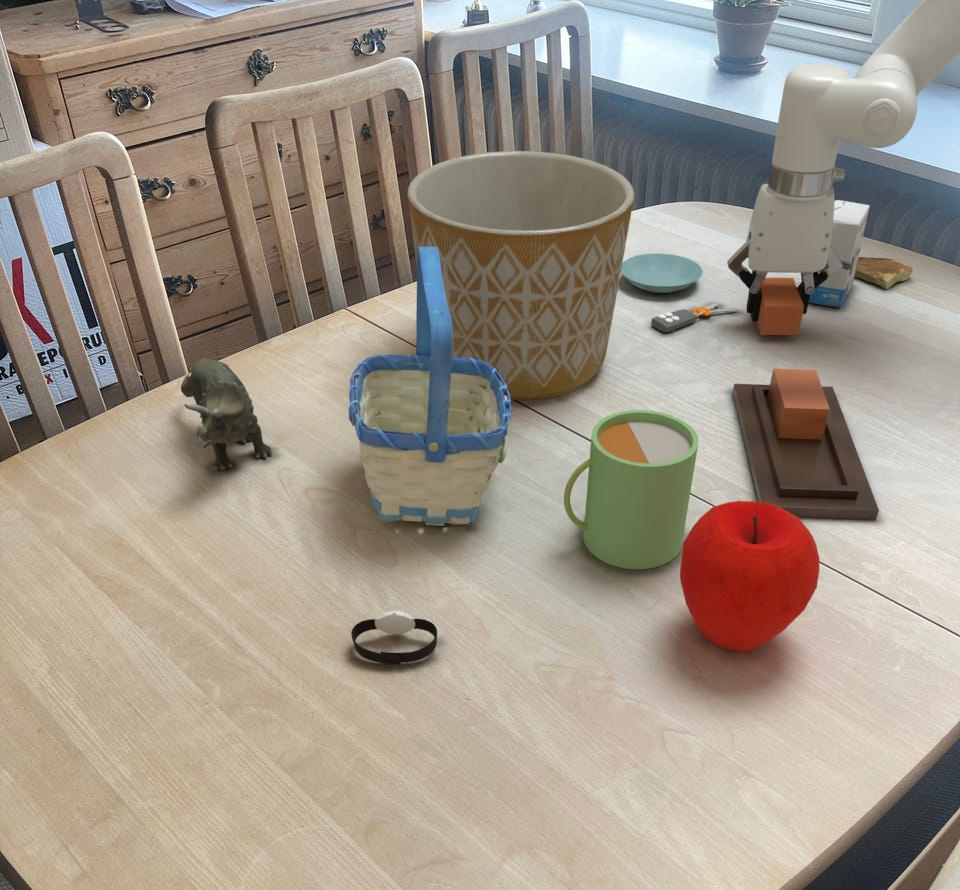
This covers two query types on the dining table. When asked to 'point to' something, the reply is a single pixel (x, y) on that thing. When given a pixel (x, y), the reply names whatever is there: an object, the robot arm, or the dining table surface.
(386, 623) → the watch
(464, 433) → the basket
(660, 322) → the key chain
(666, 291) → the saucer
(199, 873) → the dining table surface
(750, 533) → the apple
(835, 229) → the ink box
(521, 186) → the planter
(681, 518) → the mug
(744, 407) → the board
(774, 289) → the block
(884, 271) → the piece of bread
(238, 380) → the toy dinosaur
